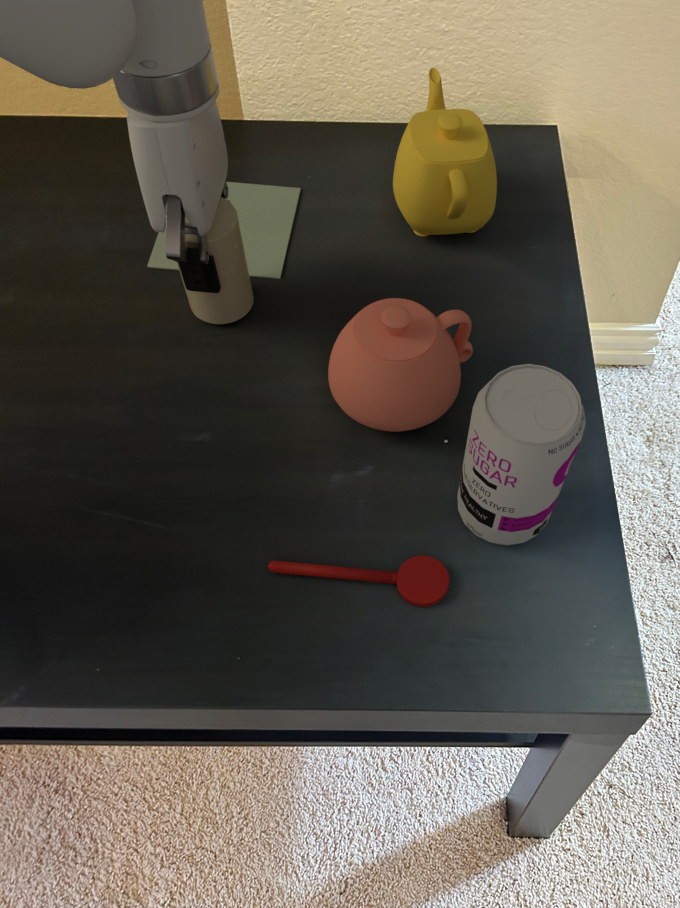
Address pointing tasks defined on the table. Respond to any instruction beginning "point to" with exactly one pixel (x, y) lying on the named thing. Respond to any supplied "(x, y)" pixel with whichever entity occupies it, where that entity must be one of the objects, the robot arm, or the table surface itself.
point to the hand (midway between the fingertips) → (212, 261)
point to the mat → (253, 228)
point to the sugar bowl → (398, 364)
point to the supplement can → (518, 452)
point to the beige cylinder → (223, 270)
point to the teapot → (445, 169)
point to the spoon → (385, 577)
